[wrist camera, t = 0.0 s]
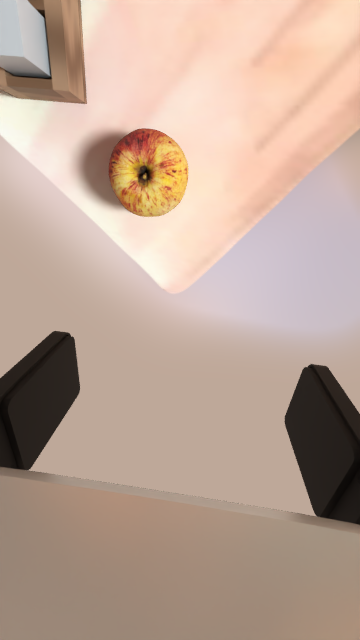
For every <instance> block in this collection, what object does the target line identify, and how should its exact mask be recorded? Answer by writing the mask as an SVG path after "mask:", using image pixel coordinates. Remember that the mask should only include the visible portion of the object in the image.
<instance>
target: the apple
mask: <svg viewBox="0 0 360 640" xmlns="http://www.w3.org/2000/svg"><path fill="white" fill-rule="evenodd" d="M109 178H110V182H111V186H112V188H113V190H114V192H115V194H116V196H117V198H118V199H119V201H120V202H121V203H122V205H123V206H124V207H125V208H126V209H127V210H128V211H130V212H132V213H133V214H136V215H139V216H144V217H153V216H161V215H164V214H166V213H168V212H169V211H171V210H172V209H173V208H175V207H176V206H177V205H178V204H179V203H180V201H181V200H182V197H183V195H184V192H185V189H186V186H187V181H188V164H187V160H186V158H185V155H184V153H183V151H182V150H181V148H180V147H179V145H178V144H177V143H176V142H175V141H174V140H173V139H171V138H170V137H169V136H167V135H166V134H164V133H162V132H160V131H157V130H154V129H137V130H135V131H133V132H131V133H129V134H128V135H126V136H125V137H124V138H123V139H122V140H121V141H120V142H119V143H118V144H117V145H116V146H115V148H114V150H113V152H112V155H111V158H110V163H109Z"/></svg>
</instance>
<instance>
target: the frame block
mask: <svg viewBox="0 0 360 640" xmlns="http://www.w3.org/2000/svg"><path fill="white" fill-rule="evenodd" d="M28 2H29V3H30V4H31V5H32V6H33V7H34V8H35V9H36V10H37V11H38V12H39V13H40V14H41V15H42V16H43V18H44V19H45V20H46V28H47V37H48V46H49V56H50V65H51V75H52V78H43V77H31V76H18V75H13V74H12V73H10V72H8V71H7V70H5V69H3V68H2V67H0V89H1V90H3V91H5V92H7V93H9V94H11V95H13V96H15V97H17V98H22V99H34V100H46V101H58V102H70V103H82V104H87V100H86V84H85V67H84V51H83V34H82V18H81V1H80V0H28Z"/></svg>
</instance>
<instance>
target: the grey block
mask: <svg viewBox="0 0 360 640" xmlns="http://www.w3.org/2000/svg"><path fill="white" fill-rule="evenodd" d="M0 67H2V68H3V69H5V70H7V71H8V72H10V73H12V74H13V75H18V76H31V77H43V78H52V75H51V65H50V56H49V46H48V37H47V28H46V20H45V19H44V18H43V16H42V15H41V14H40V13H39V12H38V11H37V10H36V9H35V8H34V7H33V6H32V5H31V4H30V3H29V2H28V0H0Z"/></svg>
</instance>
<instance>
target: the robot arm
mask: <svg viewBox="0 0 360 640" xmlns="http://www.w3.org/2000/svg"><path fill="white" fill-rule="evenodd" d="M79 391H80V384H79V375H78V367H77V358H76V348H75V340H74V337H71V335H70V334H69V333H66V332H59V331H54V332H52V333H51V334H50V335H49V336H48V337H46V338H45V339H44V340H43V341H42V342H41V343H40V344H38V346H36V347H35V348H34V349H33V350H32V351H31V352H30V353H28V354H27V355H26V356H25V357H24V358H23V359H22V360H20V361H19V362H18V363H17V364H16V365H15V366H14V367H13V368H12V369H10V370H9V371H8V372H7V373H6V374H5V375H4V376H2V377H1V378H0V640H360V414H359V412H358V411H357V409H356V408H355V406H354V405H353V404H352V402H351V401H350V399H349V398H348V396H347V395H346V393H345V392H344V390H343V389H342V387H341V386H340V384H339V383H338V382H337V380H336V379H335V377H334V376H333V374H332V373H331V371H330V370H329V368H328V367H326V366H321V365H314V364H311V365H309V366H308V367H305V368H304V369H303V370H302V373H301V376H300V379H299V381H298V384H297V386H296V389H295V391H294V394H293V397H292V400H291V402H290V405H289V407H288V410H287V413H286V415H285V425H286V429H287V432H288V435H289V438H290V441H291V444H292V447H293V450H294V453H295V456H296V459H297V462H298V465H299V468H300V471H301V474H302V477H303V480H304V483H305V486H306V489H307V492H308V495H309V498H310V501H311V505H312V508H313V510H314V513H315V514H316V516H317V517H316V516H310V515H305V514H299V513H293V512H288V511H282V510H275V509H269V508H263V507H257V506H251V505H244V504H239V503H233V502H227V501H221V500H214V499H208V498H202V497H196V496H189V495H183V494H177V493H170V492H164V491H158V490H152V489H146V488H139V487H133V486H126V485H120V484H114V483H107V482H101V481H94V480H88V479H81V478H75V477H68V476H61V475H55V474H48V473H42V472H35V471H27V470H29V469H30V468H31V467H32V465H33V464H34V462H35V461H36V459H37V458H38V456H39V455H40V453H41V452H42V450H43V449H44V447H45V445H46V444H47V442H48V441H49V439H50V438H51V436H52V435H53V433H54V431H55V430H56V428H57V427H58V425H59V424H60V422H61V421H62V419H63V418H64V416H65V414H66V413H67V411H68V410H69V408H70V407H71V405H72V404H73V402H74V401H75V399H76V398H77V396H78V394H79Z"/></svg>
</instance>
